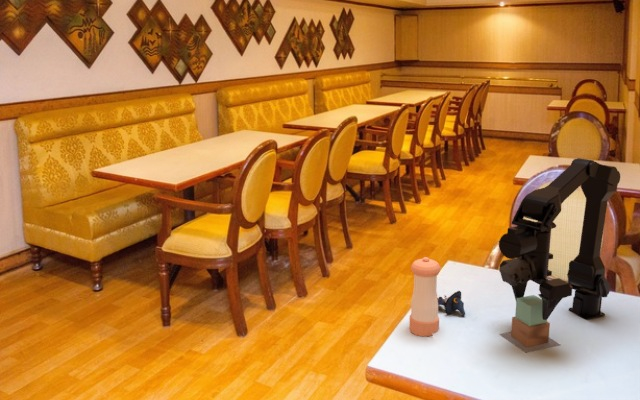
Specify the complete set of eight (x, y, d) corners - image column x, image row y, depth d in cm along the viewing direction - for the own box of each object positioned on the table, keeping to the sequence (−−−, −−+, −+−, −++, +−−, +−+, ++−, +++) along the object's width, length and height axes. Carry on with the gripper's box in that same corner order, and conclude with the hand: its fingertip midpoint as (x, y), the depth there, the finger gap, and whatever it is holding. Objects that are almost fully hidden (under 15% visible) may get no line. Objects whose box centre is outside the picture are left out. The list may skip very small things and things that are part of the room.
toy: (427, 286, 171) (470, 287, 159) (432, 310, 171) (475, 313, 160) (407, 294, 166) (451, 296, 154) (412, 319, 166) (456, 323, 154)
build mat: (532, 329, 151) (532, 326, 151) (560, 347, 142) (561, 344, 142) (498, 336, 148) (498, 334, 148) (525, 355, 139) (525, 352, 139)
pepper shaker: (432, 339, 147) (434, 264, 142) (404, 332, 151) (405, 259, 146) (443, 327, 153) (445, 255, 148) (416, 320, 157) (417, 250, 152)
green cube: (532, 314, 147) (533, 294, 145) (546, 322, 142) (548, 302, 141) (515, 317, 145) (516, 298, 144) (529, 326, 140) (530, 306, 139)
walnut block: (531, 331, 149) (532, 312, 147) (548, 342, 143) (549, 323, 142) (510, 336, 146) (512, 317, 145) (527, 347, 141) (528, 327, 140)
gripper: (482, 241, 145) (479, 301, 149) (535, 267, 128) (529, 334, 132) (520, 235, 149) (516, 294, 152) (576, 260, 132) (570, 325, 136)
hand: (531, 311), depth 143 cm, fingers open, 9 cm apart
